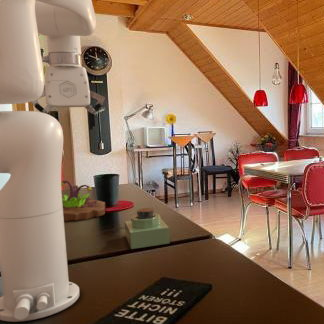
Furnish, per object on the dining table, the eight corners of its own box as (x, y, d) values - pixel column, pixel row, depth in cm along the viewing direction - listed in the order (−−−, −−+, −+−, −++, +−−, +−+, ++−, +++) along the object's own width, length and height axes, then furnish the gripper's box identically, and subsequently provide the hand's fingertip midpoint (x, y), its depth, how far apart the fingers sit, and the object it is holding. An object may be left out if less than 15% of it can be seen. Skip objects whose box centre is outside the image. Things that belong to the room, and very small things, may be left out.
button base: (169, 243, 94) (168, 219, 93) (131, 249, 90) (129, 224, 89) (160, 231, 104) (159, 209, 103) (125, 236, 100) (124, 213, 99)
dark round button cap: (155, 218, 95) (155, 210, 95) (138, 220, 93) (138, 212, 93) (152, 215, 99) (152, 207, 98) (136, 217, 97) (135, 209, 97)
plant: (44, 210, 131) (41, 177, 130) (105, 204, 138) (103, 173, 136) (33, 225, 113) (29, 187, 111) (104, 218, 119) (102, 182, 118)
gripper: (24, 58, 91) (31, 131, 92) (103, 61, 98) (107, 129, 100) (27, 62, 97) (33, 131, 99) (100, 65, 105) (105, 128, 107)
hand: (70, 130), depth 100 cm, fingers open, 9 cm apart
